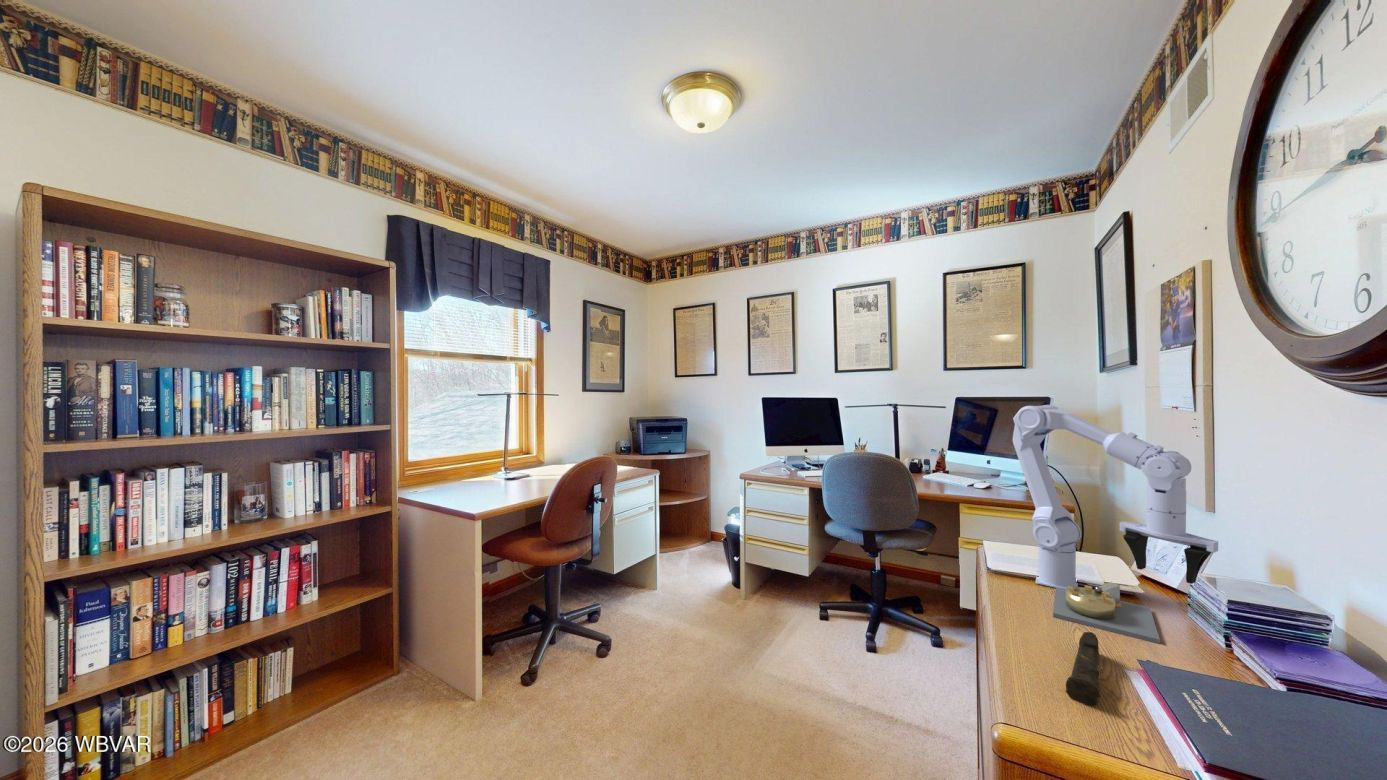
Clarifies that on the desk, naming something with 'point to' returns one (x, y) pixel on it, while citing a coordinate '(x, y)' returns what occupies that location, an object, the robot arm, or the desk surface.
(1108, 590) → the gold rounded piece
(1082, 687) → the dark brown statuette
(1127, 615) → the base plate
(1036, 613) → the desk surface
